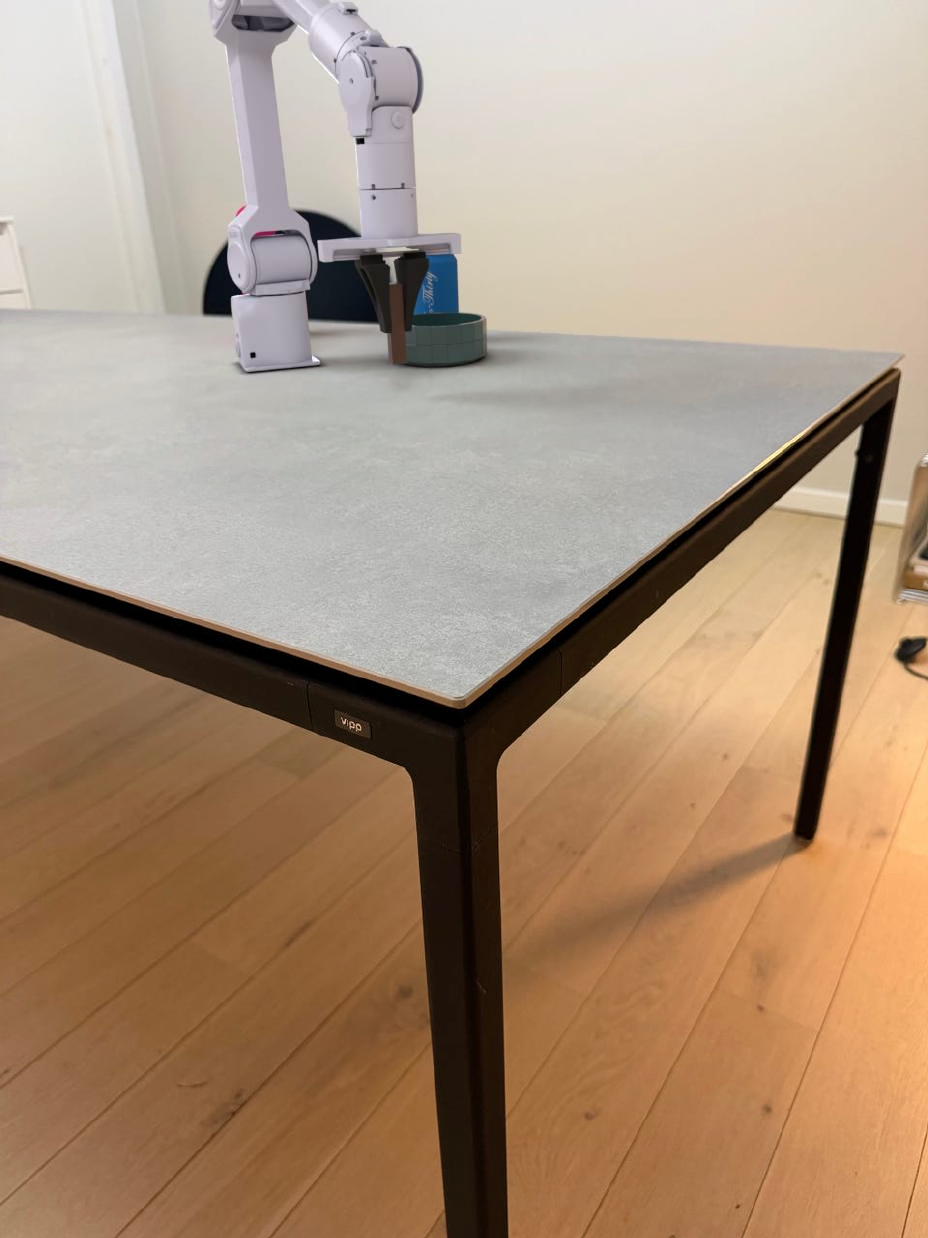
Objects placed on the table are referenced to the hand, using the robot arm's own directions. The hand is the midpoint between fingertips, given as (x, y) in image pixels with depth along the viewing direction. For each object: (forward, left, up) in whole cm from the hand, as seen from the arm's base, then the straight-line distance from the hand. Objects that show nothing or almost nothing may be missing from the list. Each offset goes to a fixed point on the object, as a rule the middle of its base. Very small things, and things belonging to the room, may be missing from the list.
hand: (395, 331), depth 97 cm
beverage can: (+15, +32, -7) cm, 36 cm away
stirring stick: (0, 0, -3) cm, 3 cm away
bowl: (+11, +19, -7) cm, 23 cm away
